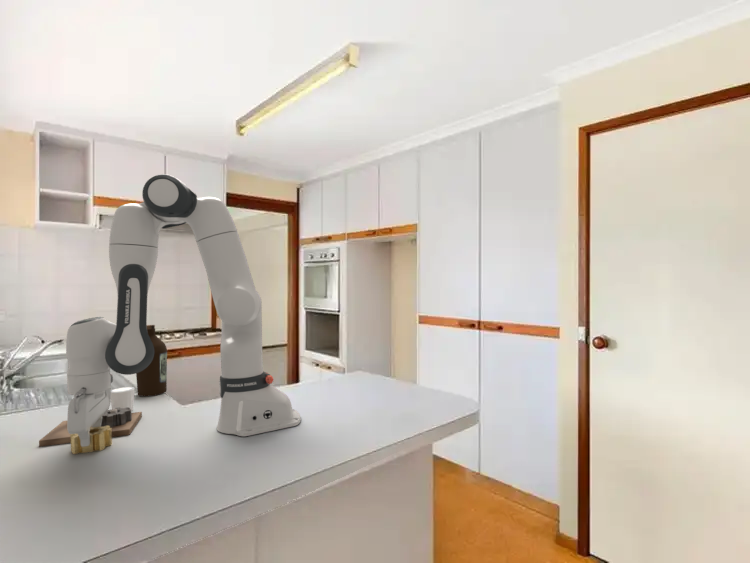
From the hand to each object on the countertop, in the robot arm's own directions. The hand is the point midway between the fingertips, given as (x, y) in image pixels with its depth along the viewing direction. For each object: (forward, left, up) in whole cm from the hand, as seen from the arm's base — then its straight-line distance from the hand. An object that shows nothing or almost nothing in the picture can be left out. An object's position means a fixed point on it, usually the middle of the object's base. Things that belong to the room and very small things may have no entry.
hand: (91, 439), depth 103 cm
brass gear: (0, 0, -2) cm, 2 cm away
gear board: (+3, -14, -2) cm, 14 cm away
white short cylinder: (0, -31, -2) cm, 31 cm away
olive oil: (-5, -51, -2) cm, 52 cm away
